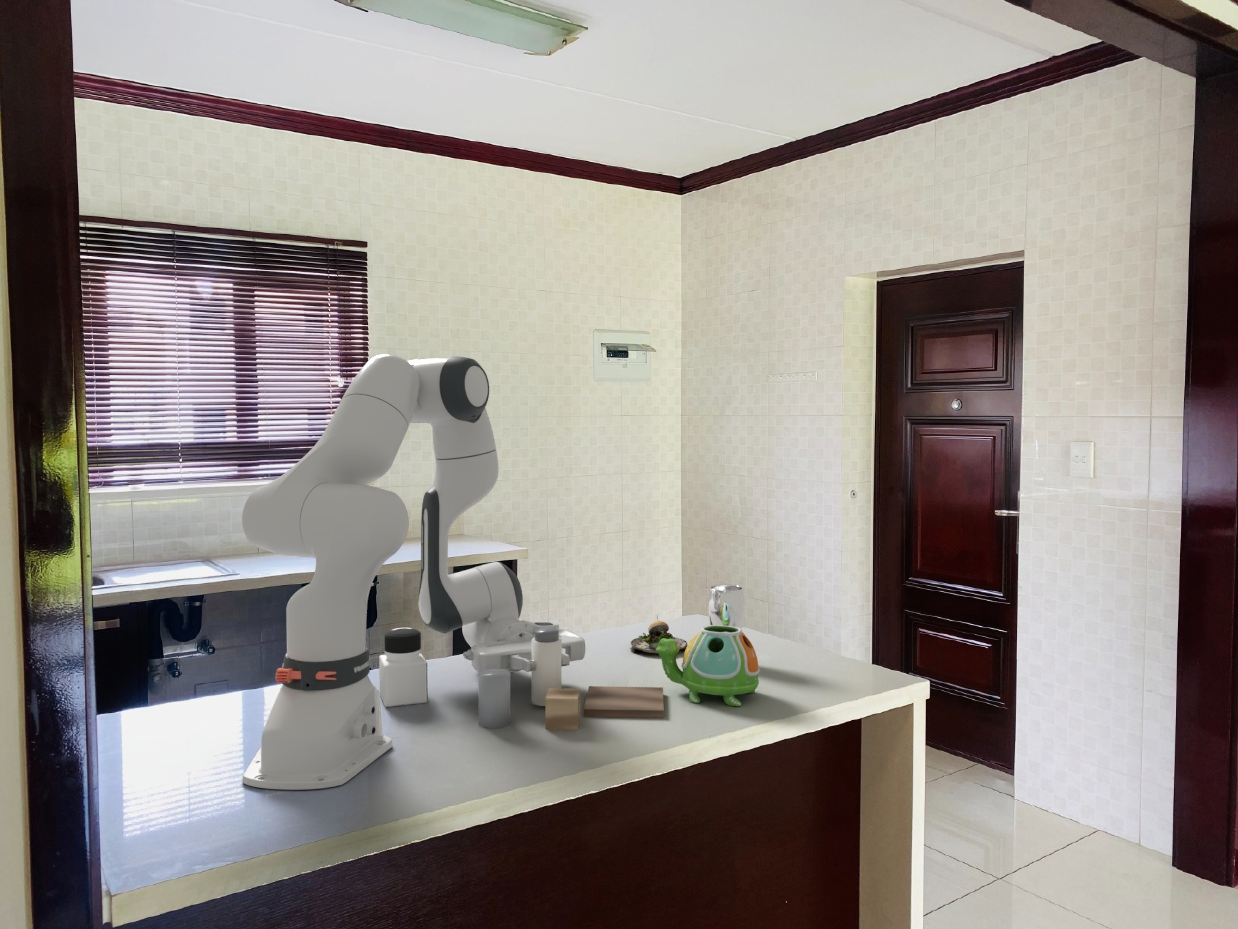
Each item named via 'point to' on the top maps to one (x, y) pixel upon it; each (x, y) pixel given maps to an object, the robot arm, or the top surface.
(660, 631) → the burger
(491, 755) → the top surface
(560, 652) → the plastic bottle
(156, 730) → the top surface
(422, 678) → the medicine bottle
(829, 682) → the top surface
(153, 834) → the top surface
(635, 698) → the walnut board
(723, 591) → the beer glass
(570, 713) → the oak block
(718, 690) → the turtle holder
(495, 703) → the grey cylinder
